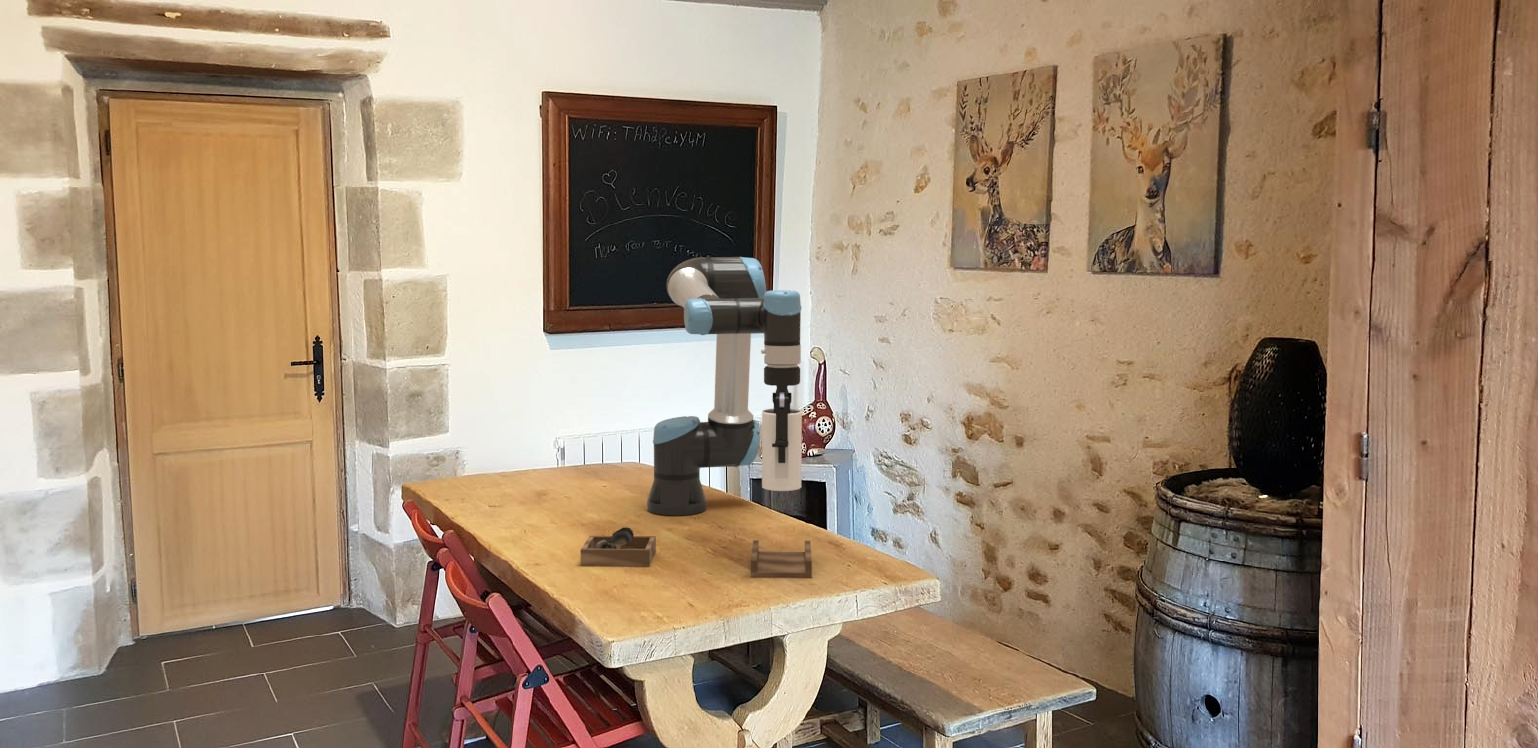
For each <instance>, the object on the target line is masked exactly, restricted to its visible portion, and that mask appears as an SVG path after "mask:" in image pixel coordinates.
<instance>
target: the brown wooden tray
mask: <svg viewBox="0 0 1538 748" xmlns="http://www.w3.org/2000/svg"><path fill="white" fill-rule="evenodd" d="M759 542H760V541H759V539H753V540H752V547H751V557H750V578H776V579H777V578H778V579H779V578H787V579H790V578H797V579H798V578H799V579H803V578H804V579H805V578H806V579H811V578H812V570H813V568H812V565H813V562H812V561H813V560H812V544H811V540H804V551H771V550H770V551H761V550H760V545H759V544H760V543H759Z"/></svg>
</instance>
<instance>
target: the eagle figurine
mask: <svg viewBox="0 0 1538 748" xmlns="http://www.w3.org/2000/svg"><path fill="white" fill-rule="evenodd" d="M611 536H612V537H611V540H610V543H608V542H607V541H606V540H602V541H600V542H599V543H597V544H596V549H623V548H624V546H625V544H626V543H629V542H631V541H632V540H633V537H634V536H635V534H634V531H633V530H632V528H630V527H627V526H626V527H624V526H623V527H621V528H619V529H618V530H616V531H614V532H613V533H612V534H611ZM621 546H622V547H621Z"/></svg>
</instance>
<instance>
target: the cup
mask: <svg viewBox="0 0 1538 748" xmlns="http://www.w3.org/2000/svg"><path fill="white" fill-rule="evenodd" d="M802 413H803V412H802V410H800V409H796V408H790V414H788V478H775V447H772V443H775V441H776V414H774V408H766V409H763V410H762V411H761V487H762V488H763V489H764V490H766V491H775V492H788V491H789V492H790V491H796V490H800V489H801V488H802V458H803V457H802V440H803V437H802V436H803V435H802V433H803V432H802V430H803V428H802V427H803V422H802V421H803V419H802V417H803V415H802ZM779 440H785V439H779Z"/></svg>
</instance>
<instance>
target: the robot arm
mask: <svg viewBox="0 0 1538 748" xmlns="http://www.w3.org/2000/svg"><path fill="white" fill-rule="evenodd" d="M765 279H766V278H765V274H764V270H763V267H762V265H761V263H760V261H759V260H758V259H757V258H753V257H743V256H729V257H728V256H722V257H720V256H719V257H695V258H694V257H693V258H690V259H687V260H685V261H682V262H681V263H679V264H677V266H675V267H674V268H673V269H672V270H671V272H670V273H669V275H668V277H667V279H666V291H667V294H668V297H670V299H671V300H672V302H673V303H675V304H676V305H678V306H679V307H683V322H684V327H685V331H686V332H687V333H688V334H690V335H700V336H705V335H716V339H715V340H716V344H715V374H714V375H715V376H714V402H713V403H714V405H713V407H714V408H713V409H712V410H710V411H709V412H708V416H707V421H703V422H702V421H701V420H700V418H699V417H698V416H696V415H695V416H693V415H690V416H687V415H685V416H683V415H682V416H679V417H678V416H677V417H671V418H667V419H666V418H665V419H664V420H661V421H659V422H658V423H656V424H655V426H654V429H653V437H652V438H653V439H652V443H653V482H652V484H651V488H650V492H649V494H648V497H647V502H646V503H647V504H646V507H647V509H646V510H647V511H648V512H650V513H652V514H655V515H661V516H689V515H695V514H699V513H703V512H705V511H706V510H707V507H708V506H707V504H708V503H707V497H706V494H705V492H704V488H703V486H702V482H701V478H700V473H701V472H700V469H701V468H702V469H706V468H728V467H729V468H731V467H734V468H738V467H742V466H750V465H751V464H753V463H754V462H755V460H756V459H757V456H758V453H759V450H760V449H759V447H760V441H761V436H760V432H761V428H760V424H759V422H758V421H757V420H755V419H754V414H753V413H752V412H751V411H750V410H749V388H750V365H751V361H750V360H751V345H752V344H751V343H752V342H751V341H752V340H751V339H752V338H751V337H752V334H753V335H754V334H763V339H764V341H763V345H764V346H763V347H764V348H763V349H761V350H760V354H762V355H764V357H763V358H764V359H763V361H764V362H763V363H764V364H766V366H764V368H763V383H764V384H765V385H767V386H774V387H775V386H776V389H775V392H772V398H771V399H772V400H771V401H772V403H773V409H774V414H776V441H775V443H772V447H775V478H788V414H790V409H791V403H792V400H793V399H792V392H789V389H788V387H789V386H791V387H792V386H793V387H794V386H797V385H799V384H801V368H800V366H799V365H800V364H801V363H802V360H801V354H802V353H801V352H802V351H801V350H802V349H801V347H802V346H801V345H802V344H801V320H802V318H801V316H802V314H801V313H802V305H801V294H800V292H799V291H797V290H786V289H785V290H784V289H783V290H775V289H772V290H767V285H766V280H765ZM779 439H785V440H779Z"/></svg>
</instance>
